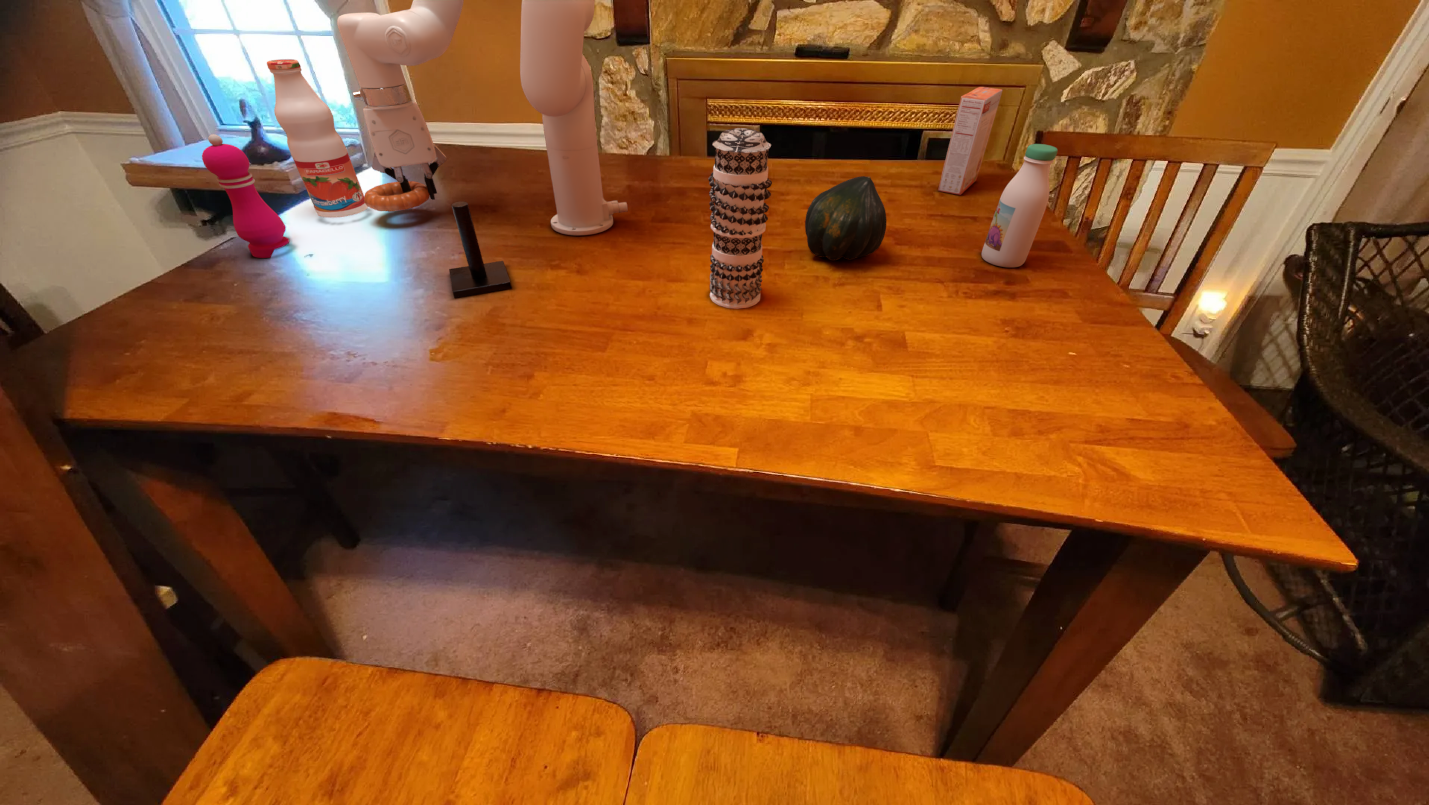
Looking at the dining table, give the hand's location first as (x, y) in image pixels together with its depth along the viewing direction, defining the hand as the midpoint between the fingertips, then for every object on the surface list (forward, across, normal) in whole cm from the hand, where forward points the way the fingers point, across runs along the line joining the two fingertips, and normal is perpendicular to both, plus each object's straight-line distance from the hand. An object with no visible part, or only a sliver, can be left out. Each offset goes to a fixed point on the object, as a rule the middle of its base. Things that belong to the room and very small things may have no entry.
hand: (422, 198), depth 111 cm
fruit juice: (+5, -16, +10) cm, 20 cm away
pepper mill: (+4, -27, -5) cm, 28 cm away
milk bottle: (+9, +98, -59) cm, 114 cm away
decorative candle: (+7, +45, -53) cm, 69 cm away
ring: (-1, -4, 0) cm, 4 cm away
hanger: (+6, +7, -32) cm, 33 cm away
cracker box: (+9, +121, -22) cm, 123 cm away
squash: (+8, +71, -45) cm, 84 cm away
